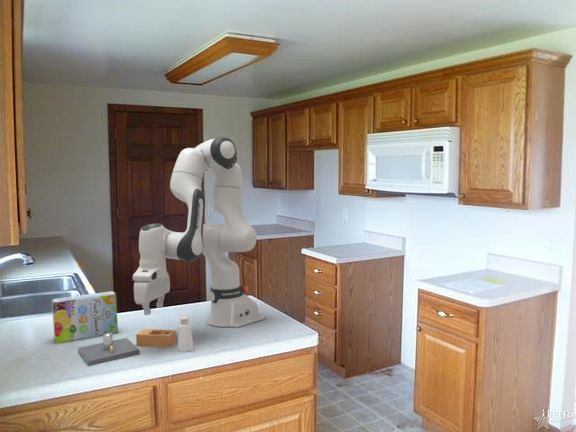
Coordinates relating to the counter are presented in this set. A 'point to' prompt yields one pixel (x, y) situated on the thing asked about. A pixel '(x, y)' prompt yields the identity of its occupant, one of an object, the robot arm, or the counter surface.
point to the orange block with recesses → (156, 338)
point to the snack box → (84, 316)
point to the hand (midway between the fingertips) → (153, 310)
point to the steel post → (107, 340)
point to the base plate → (107, 351)
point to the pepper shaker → (185, 335)
